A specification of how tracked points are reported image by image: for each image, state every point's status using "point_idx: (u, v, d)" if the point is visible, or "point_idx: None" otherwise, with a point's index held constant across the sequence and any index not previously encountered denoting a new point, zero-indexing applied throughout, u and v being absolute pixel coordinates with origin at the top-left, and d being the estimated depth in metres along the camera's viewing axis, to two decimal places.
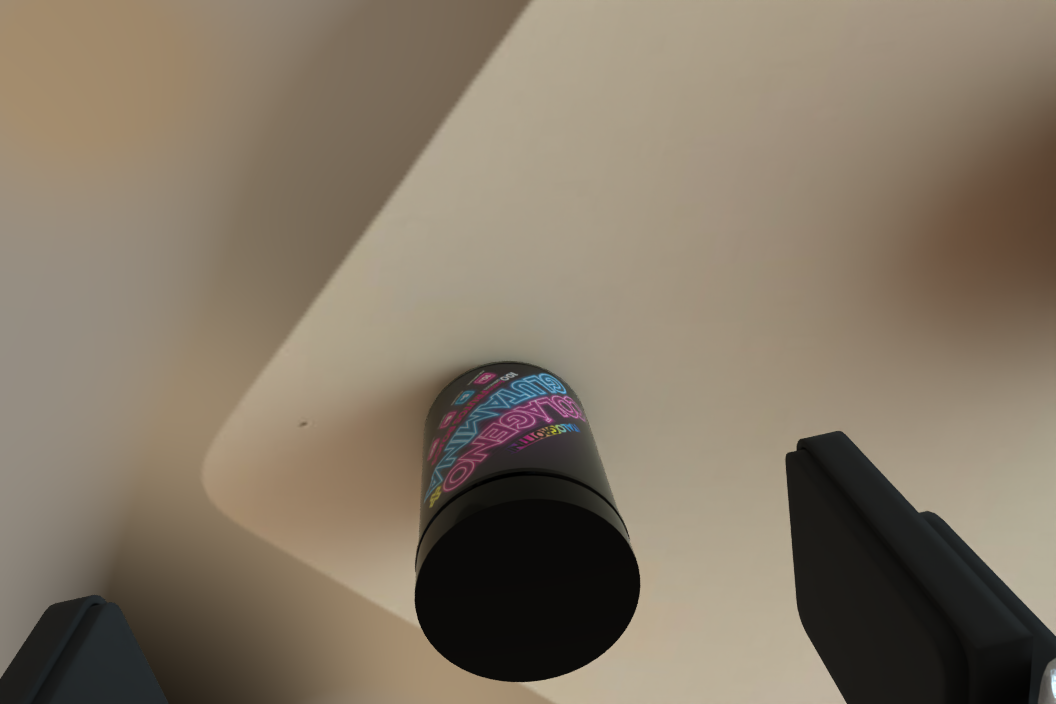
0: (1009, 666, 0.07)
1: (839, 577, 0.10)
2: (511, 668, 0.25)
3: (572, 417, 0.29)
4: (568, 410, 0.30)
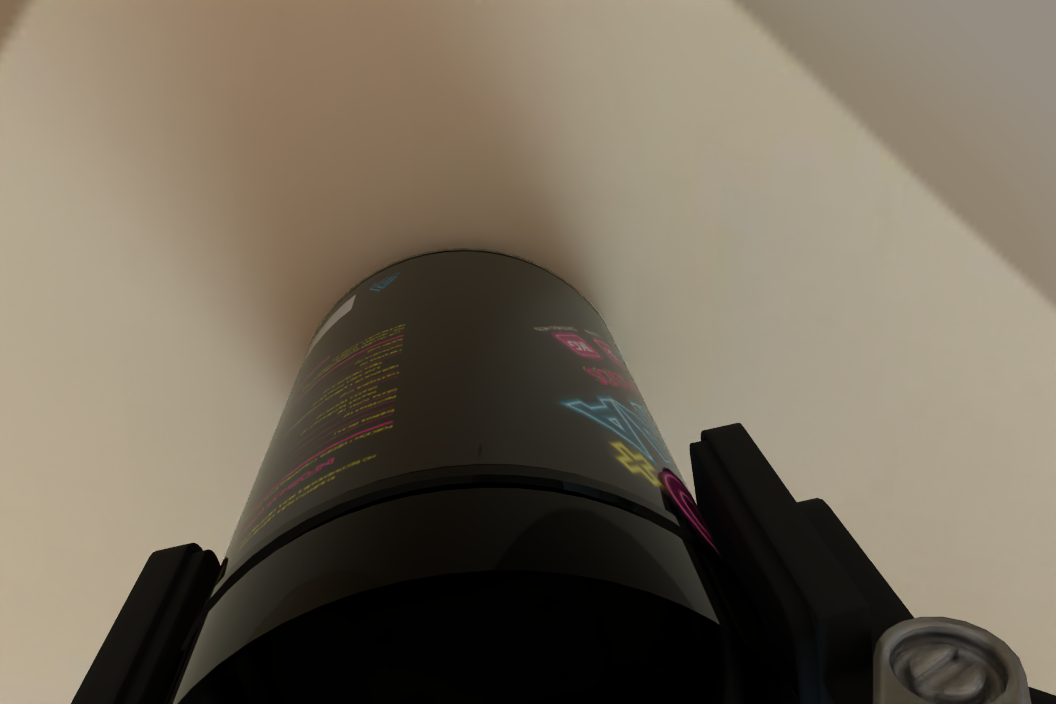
0: (850, 635, 0.08)
1: (729, 559, 0.10)
2: None
3: None
4: None
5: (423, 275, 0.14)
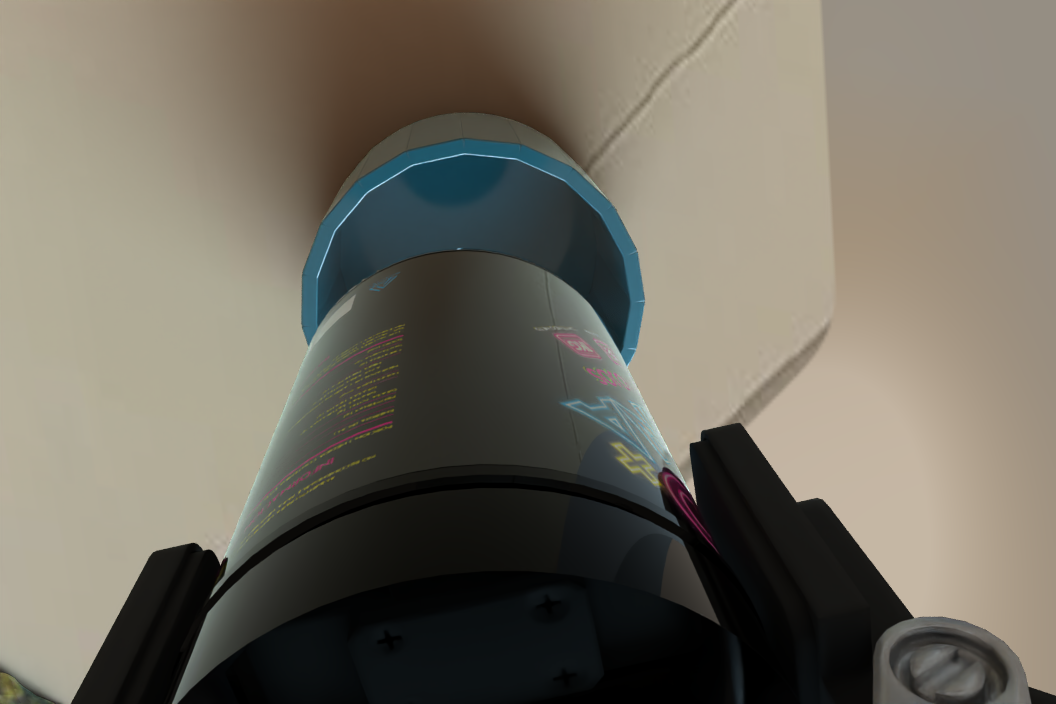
0: (850, 635, 0.08)
1: (729, 559, 0.10)
2: None
3: None
4: None
5: (423, 275, 0.14)
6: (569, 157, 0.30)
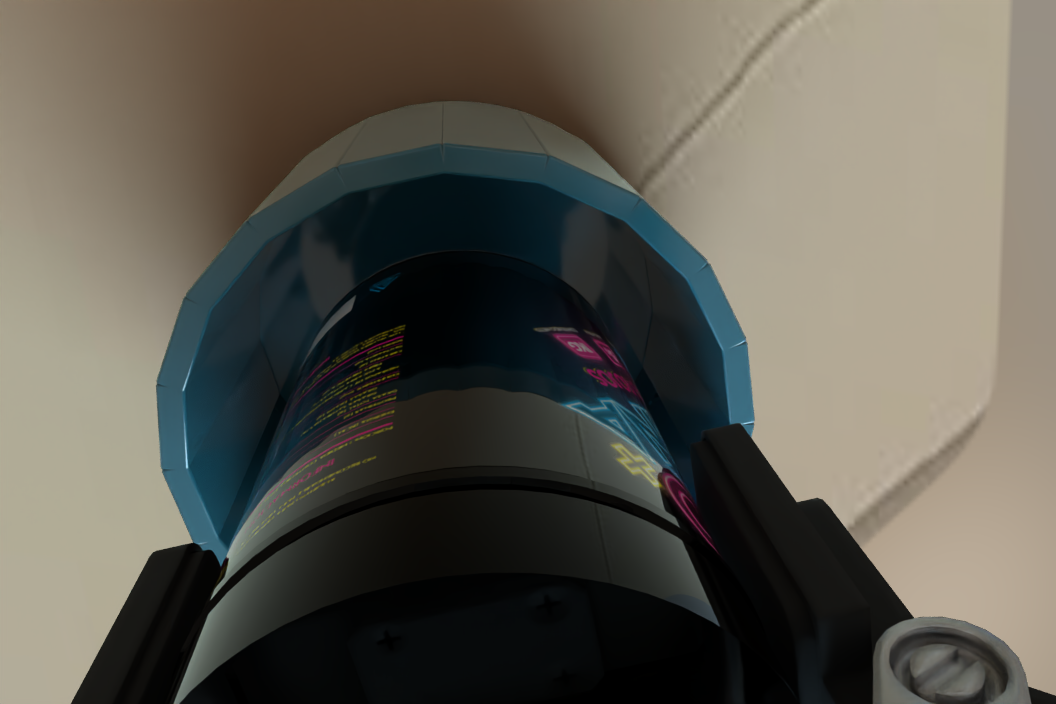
0: (850, 635, 0.08)
1: (729, 559, 0.10)
2: None
3: None
4: None
5: (423, 276, 0.14)
6: None
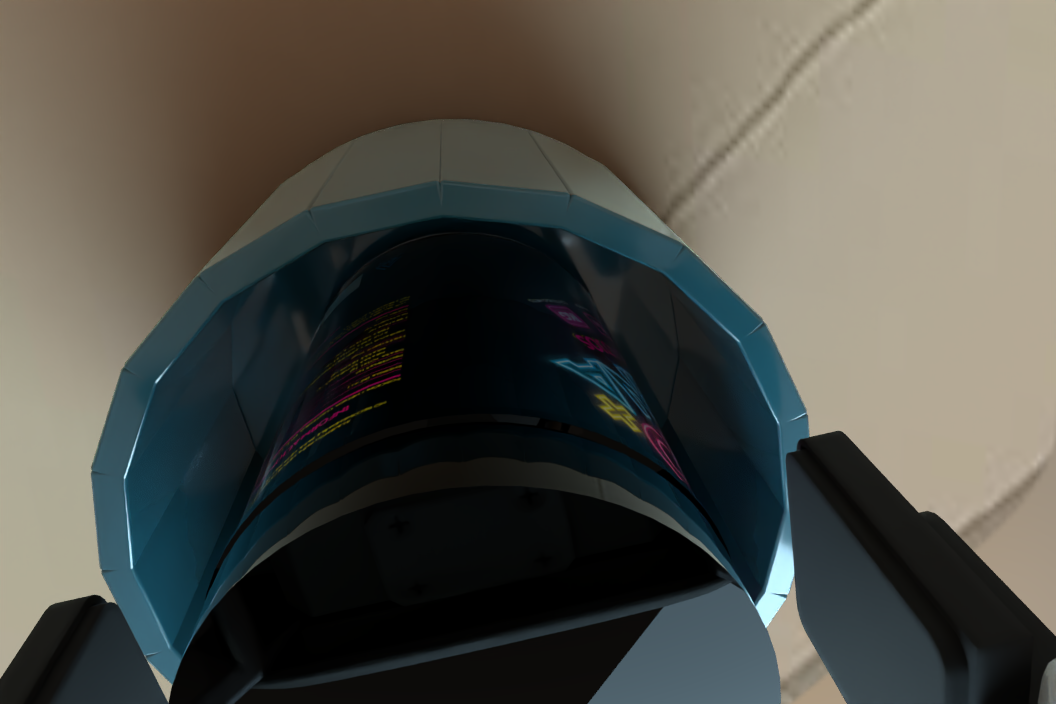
0: (1009, 666, 0.07)
1: (839, 577, 0.10)
2: None
3: None
4: None
5: (426, 255, 0.15)
6: None
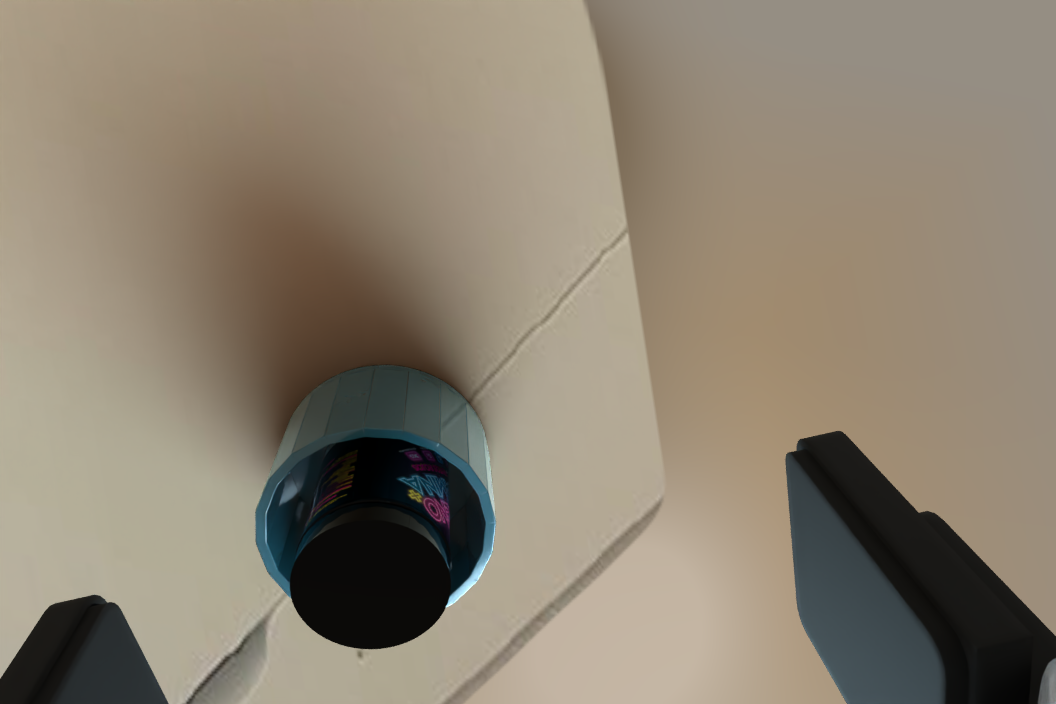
0: (1009, 666, 0.07)
1: (839, 577, 0.10)
2: (302, 580, 0.34)
3: None
4: None
5: None
6: (452, 402, 0.42)
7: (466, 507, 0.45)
